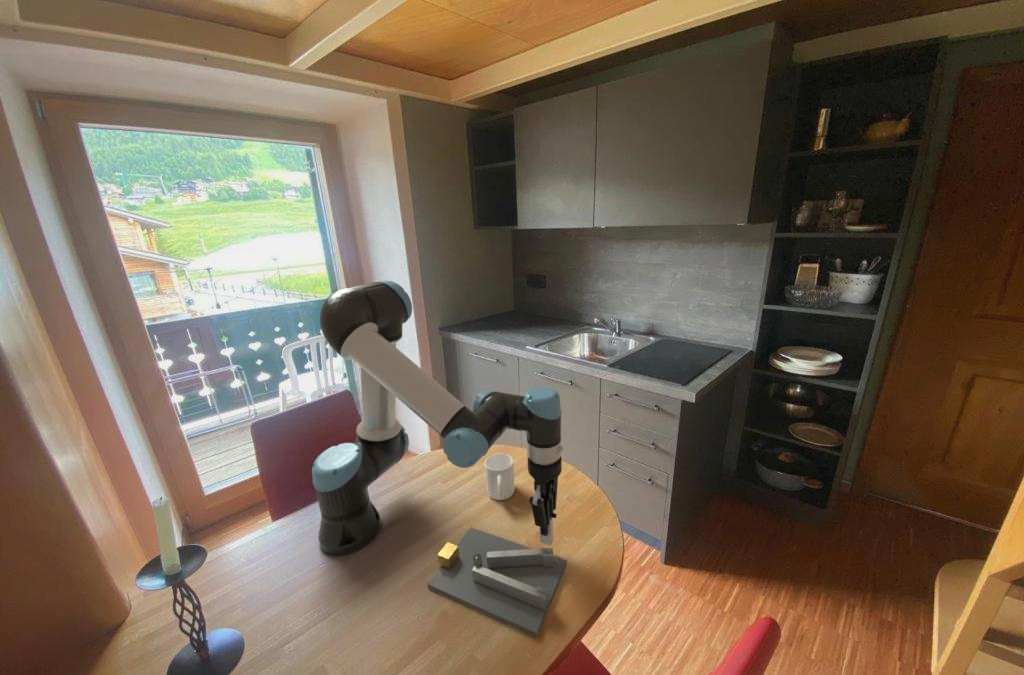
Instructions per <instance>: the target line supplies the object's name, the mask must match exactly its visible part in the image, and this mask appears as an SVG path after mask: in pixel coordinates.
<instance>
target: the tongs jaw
mask: <svg viewBox="0 0 1024 675" xmlns="http://www.w3.org/2000/svg"><path fill="white" fill-rule="evenodd" d="M554 556H555V555H554V550H553V547H541V548H532V549H523V550H508V551H493V552H487V566H488V568H498V567H513V566H528V565H543V567H550V566H554Z"/></svg>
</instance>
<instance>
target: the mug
mask: <svg viewBox="0 0 1024 675" xmlns="http://www.w3.org/2000/svg"><path fill="white" fill-rule="evenodd" d="M514 467H515V466H514V459H513V457H512V456H510V455H509V454H506V453H500V452H499V453H494V454H491V455H489V456H488V457H487V458H485V461H484V471H485V472H484V473H485V485H486V492H487V495H488V496H489V497H490V498H491V499H493V500H495V501H503V500H508V499H510V498H511V497H512V496H513V494H514V492H515V488H516V487H515V470H514Z"/></svg>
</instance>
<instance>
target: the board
mask: <svg viewBox="0 0 1024 675" xmlns="http://www.w3.org/2000/svg"><path fill="white" fill-rule="evenodd" d="M456 545H457V546H458V548H459V557H458V558H457V559H456V561H455V562H454V564H453V565H452V566H451V568H450V569H449V568H446V567H444V566H441V565H440V567H439V568H438V569H437V571H436V572H434V574H433V576H431V578H430V580H429V581H428V582H427V584H426V585H427V589H428V590H431V591H433V592H435V593H437V594H440V595H442V596H444V597H447V598H448V599H450V600H453V601H455V602H458V603H460V604H462V605H463V606H466V607H469V608H470V609H472V610H473V609H474V610H475V611H476V612H477V611H478V612H480V613H482V614H484V615H486V616H489V617H491V618H493V619H494V620H497V621H499V622H502V623H504V624H506V625H509V626H511V627H513V628H515V629H517V630H519V631H522V632H524V633H527V634H528V635H530V636H533V637H535V638H538V636H539V632H541V628H542V626H543V624H544V621H545V618H546V616H547V613H548V611H549V610H550V607H551V604H552V602H553V599H554V596H555V595H556V592H557V589H558V587H559V584H560V583H561V580H562V578H563V574H564V572H565V570H566V568H567V565H568V561H567V559H564V558H561V557H559V556H555V555H554V566H550V567H543V565H528V566H513V567H498V568H488V566H487V552H493V551H508V550H523V549H533V548H532V547H529V546H526V545H523V544H520V543H517V542H515V541H511V540H508V539H507V538H506V539H505V538H503V537H500V536H498V535H494V534H491V533H489V532H487V531H483V530H481V529H478V528H475V527H471V526H470V527H469V529H468V530H467V531H466V532H465V534H464V535H463V537H462V538H461V539H460V540H459V541H458V543H457V544H456ZM476 554H480V555H481V558H482V567H484V568H486V569H489V570H491V571H494V572H496V573H499V574H502V575H504V576H507V577H509V578H512V579H514V580H517V581H519V582H522V583H524V584H527V585H529V586H532V587H535V588H537V587H538V586H540V587H542V588H545V589H548V590H549V604H548V606H547V608H546V611H544V610H542V609H540V608H537V607H535V606H532V605H530V604H528V603H525V602H523V601H520V600H518V599H516V598H513V597H511V596H508V595H506V594H504V593H501V592H499V591H496V590H494V589H492V588H489V587H487V586H484V585H482V584H480V583H477V582H475V581H473V575H472V569H473V568H474V560H473V557H474V555H476Z"/></svg>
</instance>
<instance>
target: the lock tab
mask: <svg viewBox="0 0 1024 675" xmlns="http://www.w3.org/2000/svg"><path fill="white" fill-rule="evenodd" d="M458 557H459V548H458V546H457V544H454V543H452V542H448V541H447V542H446V544H444V546H443V547H442V549H441V550H440V551H439V552H438V554H437V560H438V565H439V566H440V567H441V566H444V567H446V568H449V569H450V568H451V566H452V565H453V564H454V562H455V561H456V559H457V558H458Z"/></svg>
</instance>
